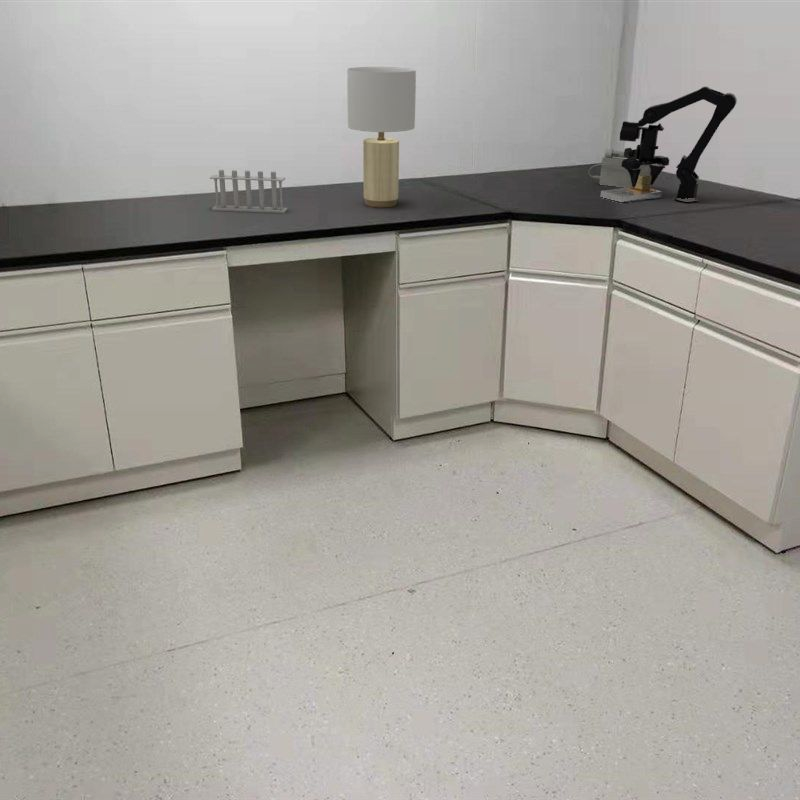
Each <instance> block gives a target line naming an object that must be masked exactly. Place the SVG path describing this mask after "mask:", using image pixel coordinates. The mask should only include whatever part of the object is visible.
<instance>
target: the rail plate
mask: <svg viewBox="0 0 800 800" xmlns="http://www.w3.org/2000/svg"><path fill="white" fill-rule="evenodd" d="M661 195H662V196H663V190H658V189H654V188H650V190H648V191H639V190H635V189H634V187H629V188H615V189H614V188H612V189H606V190H605V189H604V190H601V191H600V197H603V198H602V199H604V198H607V199H611V200H615V201H619V202H624V201H630V200H636V199H642V198H649V197H655V196H661ZM607 199H606V200H607Z"/></svg>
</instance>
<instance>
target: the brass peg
mask: <svg viewBox="0 0 800 800" xmlns="http://www.w3.org/2000/svg"><path fill="white" fill-rule="evenodd" d="M651 177H652V176H651V175H647V174H639V177H638V180H637V183H636V186H635V187H634V189H635V190H639V191H648V190H650V189H651V185H650V184H651Z"/></svg>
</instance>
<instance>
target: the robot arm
mask: <svg viewBox="0 0 800 800" xmlns="http://www.w3.org/2000/svg"><path fill="white" fill-rule="evenodd" d="M702 100H704V101H706V102H708V103H710V104H712V105H714V106H716V107H715V108H714V112H713V113H712V117H711V119H710V120H709V123H707V125H706V126H705V129H704V130H703V131H702V133H701V135H700V137H699V139H698V140H697V141H696V143H695V145H694V147H693V148H692V150H691V152H690V153H689V154H688V156H687V155H685V154H684V155H683V156H682V157H681V159H680V162H679V163H678V164H677V165H676V171H675V174H676V175H675V176H676V178H677V179H678V180H680V182H679V186H678V189H677V195H676V198H681V199H685V198H687V199H688V198H695V197H696V198H697V192H698V187H699V184H698V183H697V182H698V181H699V179H700V176H699V175H698V173H697V172H696V171H695V170H696V167H697V166H698V162H699V160H700V159H701V158H700V157H701V156H702V155H703V153H704V151H705V150H706V147H707V146H708V145H709V143H710V141H711V140H712V138H713V136H714V135H715V133H716V132H717V130H718V128H719V126H720V125H721V123H722V122H723V121H725V119H726V118H727V117H728V116H729V114H730V113H731V112H732V111H733V109H734V108H735V107H736V105H737V97H736V95H735V94H733V93H731V92H727V93H723V92H721V91H717V90H715V89H712V88H710V87H709V86H701V88H699V89H697V90H694V91H692V92H690V93H687V94H685V95H683V96H680V97H678V98H675V99H673V100H671V101H667V102H663V103H658V104H655V105H650V106H649V107H648V108H646V109H645V110H644V111H643V115H642V118H641V119H640V120H638V122H632V121H631V122H630V121H626V120H624V121H623V122H622V123H621V124H622V126H621V129H620V132H619V141H621V142H622V141H623V142H636V141H637V140H639V139H640V142H639V144H637V146H636V149H632V147H627V148H624V151H623V152H624V157H627V158H623V159H624V160H623V161H622V165H621V167H624V168H625V169H627V170H628V172H629V174H630V178H631V183H632V187H635V186H636V183H637V180H638V177H639V174H640V171H641V169H639V167H640V166H641V165H649V166H650V169H651V173H650V175H651V176H652V177H651V184H650V186H653V185H654V183H655V182H656V180H657V178H658V177H659V175H660V174H661V173H662V172H663V170H664V169H666V166H669V165H670V158H669V157H668V156H664V155H656V150H659V145H657V143H658V134H659V132H662V131H664V130H665V127H664V126H663V125H662V122H660V123H658V124H656V123H657V122H659V121H661V120H662V119H664V118H666V117H667V116H668V115H670V114H671V113H674V112H676V111H679V110H681V109H683V108H686V107H688V106H690V105H693V104H695V103H698V102H700V101H702ZM646 125H648V126H647V127H646ZM637 159H638V160H637ZM642 162H644V163H642Z"/></svg>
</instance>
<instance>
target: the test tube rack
mask: <svg viewBox="0 0 800 800" xmlns="http://www.w3.org/2000/svg"><path fill="white" fill-rule="evenodd" d="M209 179H212V180H213V181H214V190H215V191H214V192H215V205H214V206H213V207H211V210H212V211H222V212H223V211H225V212H226V211H227V212H250V213H251V212H252V213H253V212H254V213H281V214H284V213H286V212H287V211H288V207H284V205H283V188H282V185H283V181H284V182H285V180H286V177H279V176H277V172H276V171H273V170H272V171H270V176H264V171H263V170H257V176H254V175H253V176H251V172H250V170H244V175H238V171H237V169H232V170H231V175H225V170H224V169H218V174H212V176H210V177H209ZM218 180H219V189H218ZM225 180H232V194H233V205H227V192H226V181H225ZM239 180H241V181H245V197H246V198H245V199H246V205H244V206H242V205H240V198H239V197H240V195H239V182H238V181H239ZM251 181H257V182H258V200H259V201H258V203H259V206H253V202H252V201H253V199H252V197H253V196H252V186H251V183H252V182H251ZM265 181H267V182H271V184H270V185H271V202H272V203H271V204H272V206H271V207H270V206H265V189H264V188H265V186H264V184H265V183H264V182H265ZM277 182H278V186H279V187H278V188H279V205H280V206H279V207H278V189H277ZM219 191H220V192H219ZM219 193H220V203H221V204H220V203H219Z"/></svg>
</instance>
